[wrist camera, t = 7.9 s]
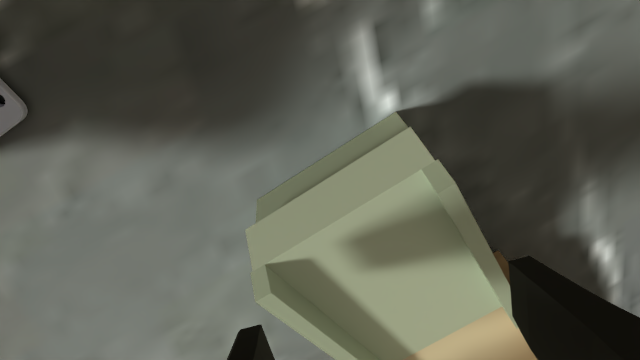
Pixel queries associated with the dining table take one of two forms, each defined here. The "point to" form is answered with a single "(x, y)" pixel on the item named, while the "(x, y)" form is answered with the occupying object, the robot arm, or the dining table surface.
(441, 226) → the ramp
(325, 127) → the dining table surface
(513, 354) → the lane
